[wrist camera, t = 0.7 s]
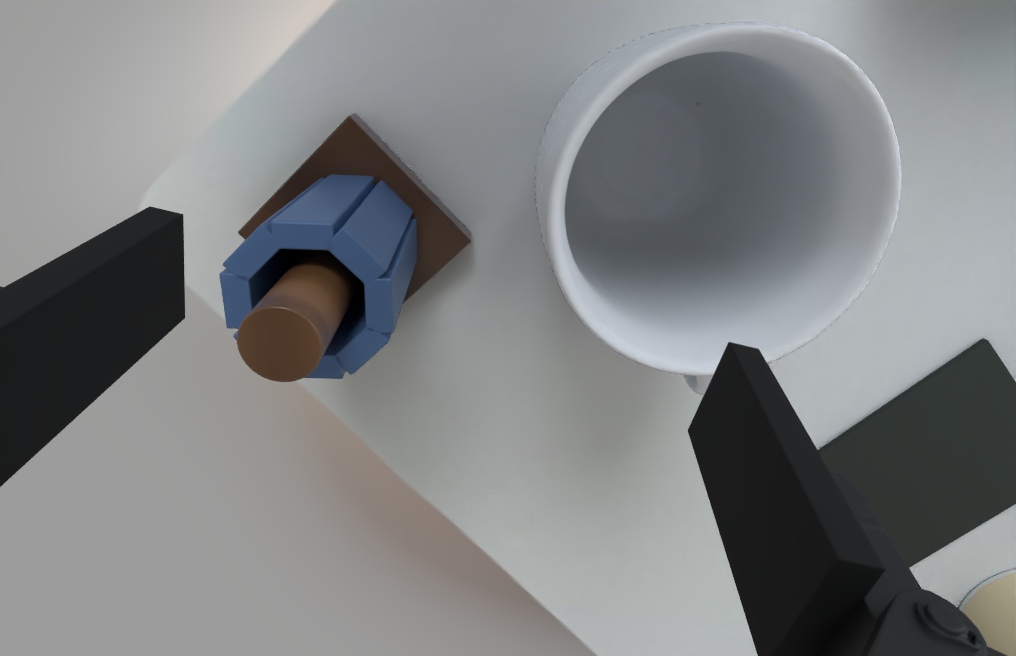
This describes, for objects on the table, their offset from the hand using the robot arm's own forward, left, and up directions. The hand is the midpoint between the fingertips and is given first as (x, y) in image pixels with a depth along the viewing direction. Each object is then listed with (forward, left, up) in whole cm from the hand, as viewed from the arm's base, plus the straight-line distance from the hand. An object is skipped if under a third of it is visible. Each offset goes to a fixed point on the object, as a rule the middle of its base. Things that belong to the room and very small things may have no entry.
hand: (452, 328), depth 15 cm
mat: (-9, +32, -18) cm, 38 cm away
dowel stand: (+6, -2, -18) cm, 19 cm away
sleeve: (+6, -2, -16) cm, 17 cm away
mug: (-6, +5, -18) cm, 20 cm away
